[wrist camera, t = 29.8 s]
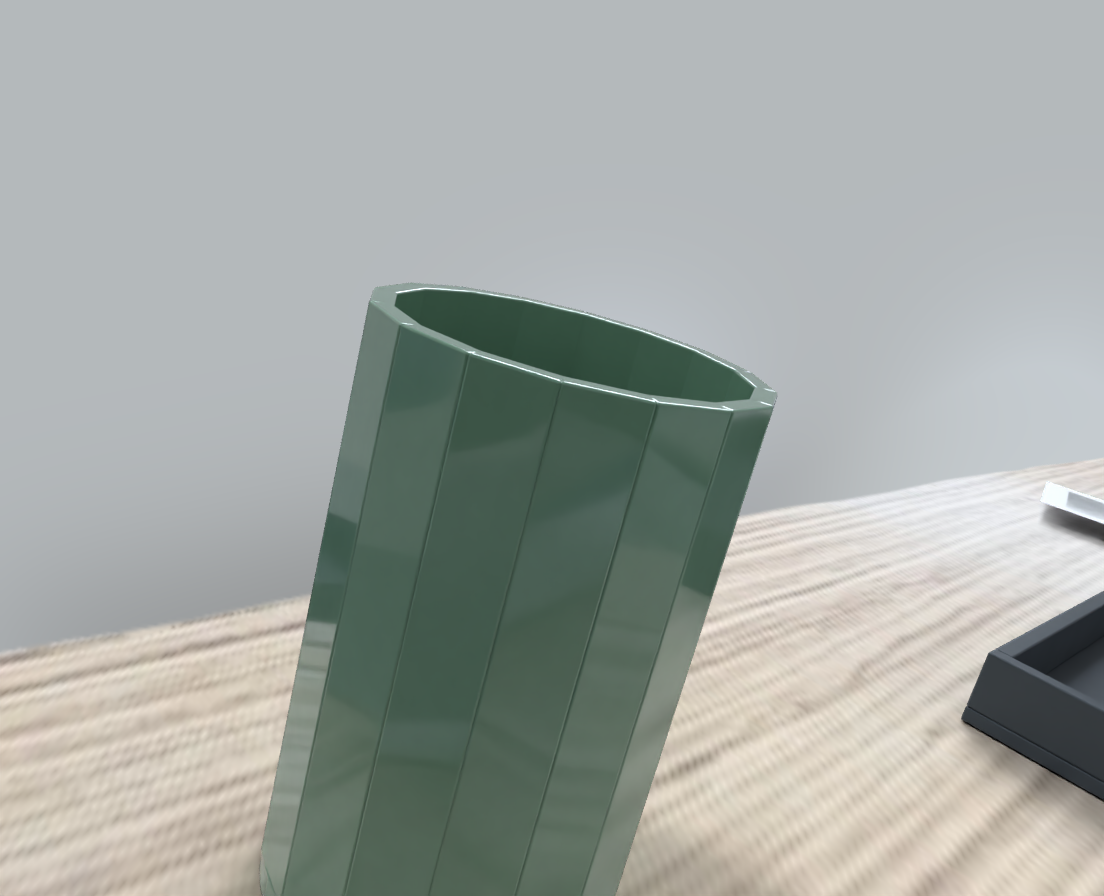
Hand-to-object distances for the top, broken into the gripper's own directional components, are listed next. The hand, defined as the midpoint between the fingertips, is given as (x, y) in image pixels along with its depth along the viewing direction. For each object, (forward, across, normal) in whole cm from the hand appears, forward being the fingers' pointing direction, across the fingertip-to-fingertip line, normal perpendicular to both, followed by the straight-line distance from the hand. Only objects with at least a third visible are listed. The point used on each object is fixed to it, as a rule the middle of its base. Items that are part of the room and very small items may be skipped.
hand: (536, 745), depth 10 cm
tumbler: (+7, 0, -8) cm, 11 cm away
